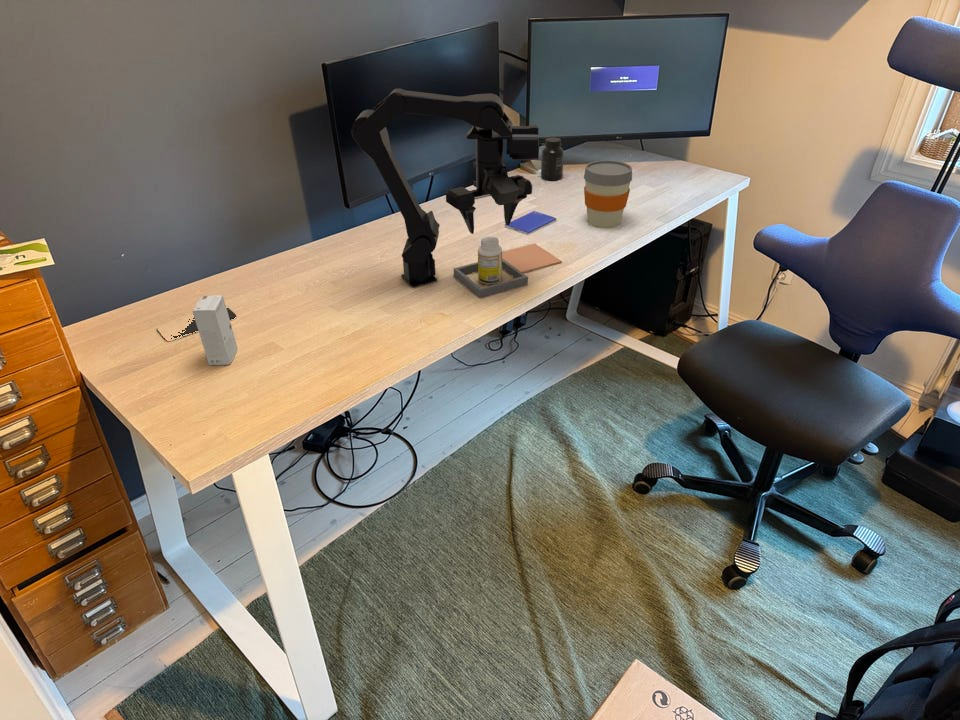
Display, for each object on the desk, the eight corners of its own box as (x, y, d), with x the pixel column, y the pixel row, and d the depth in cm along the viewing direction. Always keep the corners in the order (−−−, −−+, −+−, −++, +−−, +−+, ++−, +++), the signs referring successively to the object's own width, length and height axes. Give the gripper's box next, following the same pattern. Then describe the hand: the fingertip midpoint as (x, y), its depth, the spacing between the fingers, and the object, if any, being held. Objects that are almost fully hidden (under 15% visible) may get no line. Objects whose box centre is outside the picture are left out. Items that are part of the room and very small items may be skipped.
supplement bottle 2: (560, 173, 218) (562, 136, 211) (564, 181, 213) (566, 142, 206) (539, 174, 218) (540, 136, 211) (542, 181, 212) (543, 143, 206)
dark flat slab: (238, 316, 145) (167, 340, 137) (238, 319, 145) (168, 344, 137) (224, 303, 149) (154, 326, 142) (225, 307, 150) (155, 330, 142)
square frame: (479, 298, 150) (479, 290, 149) (453, 276, 160) (453, 268, 158) (527, 284, 155) (527, 276, 154) (499, 263, 165) (499, 256, 163)
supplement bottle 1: (488, 272, 161) (488, 232, 155) (507, 279, 158) (507, 238, 152) (473, 281, 157) (472, 240, 152) (491, 288, 154) (491, 247, 149)
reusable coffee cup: (571, 221, 186) (574, 167, 177) (600, 209, 192) (605, 157, 184) (606, 234, 178) (612, 179, 169) (636, 221, 185) (643, 167, 176)
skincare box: (231, 365, 130) (216, 310, 123) (207, 366, 130) (191, 311, 123) (238, 347, 135) (224, 294, 128) (215, 348, 135) (200, 295, 128)
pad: (519, 274, 160) (519, 272, 159) (494, 255, 168) (494, 253, 168) (561, 262, 165) (561, 260, 164) (534, 245, 173) (534, 243, 173)
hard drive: (533, 210, 190) (504, 223, 183) (556, 217, 185) (528, 231, 178) (533, 215, 191) (504, 229, 183) (556, 223, 186) (527, 237, 179)
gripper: (469, 178, 132) (470, 251, 141) (548, 162, 140) (545, 232, 149) (443, 162, 140) (446, 233, 149) (519, 148, 148) (517, 216, 157)
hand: (489, 229), depth 151 cm, fingers open, 9 cm apart
